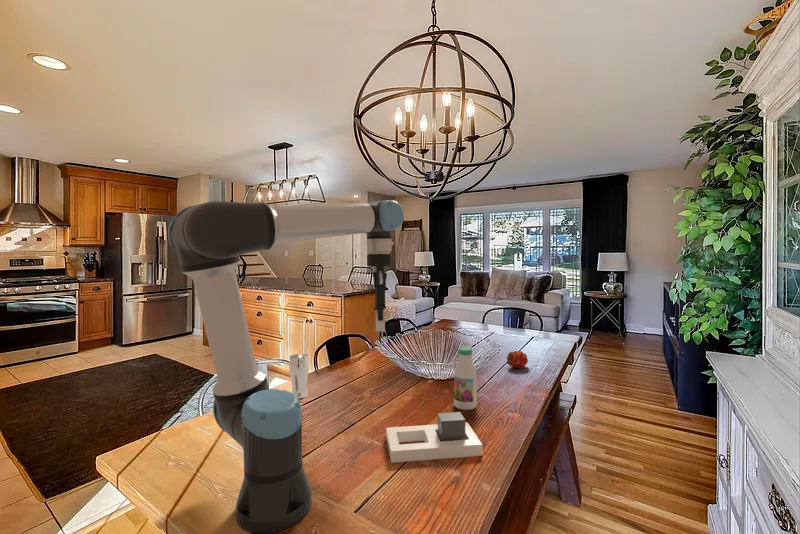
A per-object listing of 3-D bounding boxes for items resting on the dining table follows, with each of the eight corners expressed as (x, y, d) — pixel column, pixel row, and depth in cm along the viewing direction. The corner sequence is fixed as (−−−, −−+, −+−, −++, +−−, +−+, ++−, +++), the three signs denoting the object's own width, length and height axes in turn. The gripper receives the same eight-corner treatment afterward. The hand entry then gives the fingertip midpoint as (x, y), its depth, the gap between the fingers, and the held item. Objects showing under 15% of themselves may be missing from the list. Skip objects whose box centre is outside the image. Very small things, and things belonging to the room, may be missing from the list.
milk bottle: (461, 399, 138) (461, 344, 137) (480, 405, 133) (480, 348, 132) (449, 406, 132) (449, 349, 131) (469, 412, 127) (469, 352, 126)
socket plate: (482, 455, 101) (482, 444, 101) (391, 462, 98) (390, 451, 98) (467, 432, 114) (467, 422, 114) (386, 437, 111) (386, 427, 111)
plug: (465, 448, 104) (465, 419, 104) (441, 450, 104) (441, 421, 103) (460, 439, 109) (460, 412, 109) (437, 441, 109) (437, 413, 108)
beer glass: (311, 392, 146) (311, 353, 146) (305, 399, 139) (304, 358, 139) (294, 392, 147) (293, 353, 146) (287, 399, 140) (286, 358, 139)
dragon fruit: (505, 373, 172) (524, 372, 178) (518, 366, 166) (537, 365, 172) (499, 355, 177) (517, 355, 183) (511, 347, 171) (530, 347, 177)
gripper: (394, 253, 110) (394, 334, 112) (389, 252, 123) (390, 326, 124) (367, 253, 110) (368, 335, 111) (366, 253, 122) (367, 326, 124)
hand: (380, 330), depth 118 cm, fingers closed
